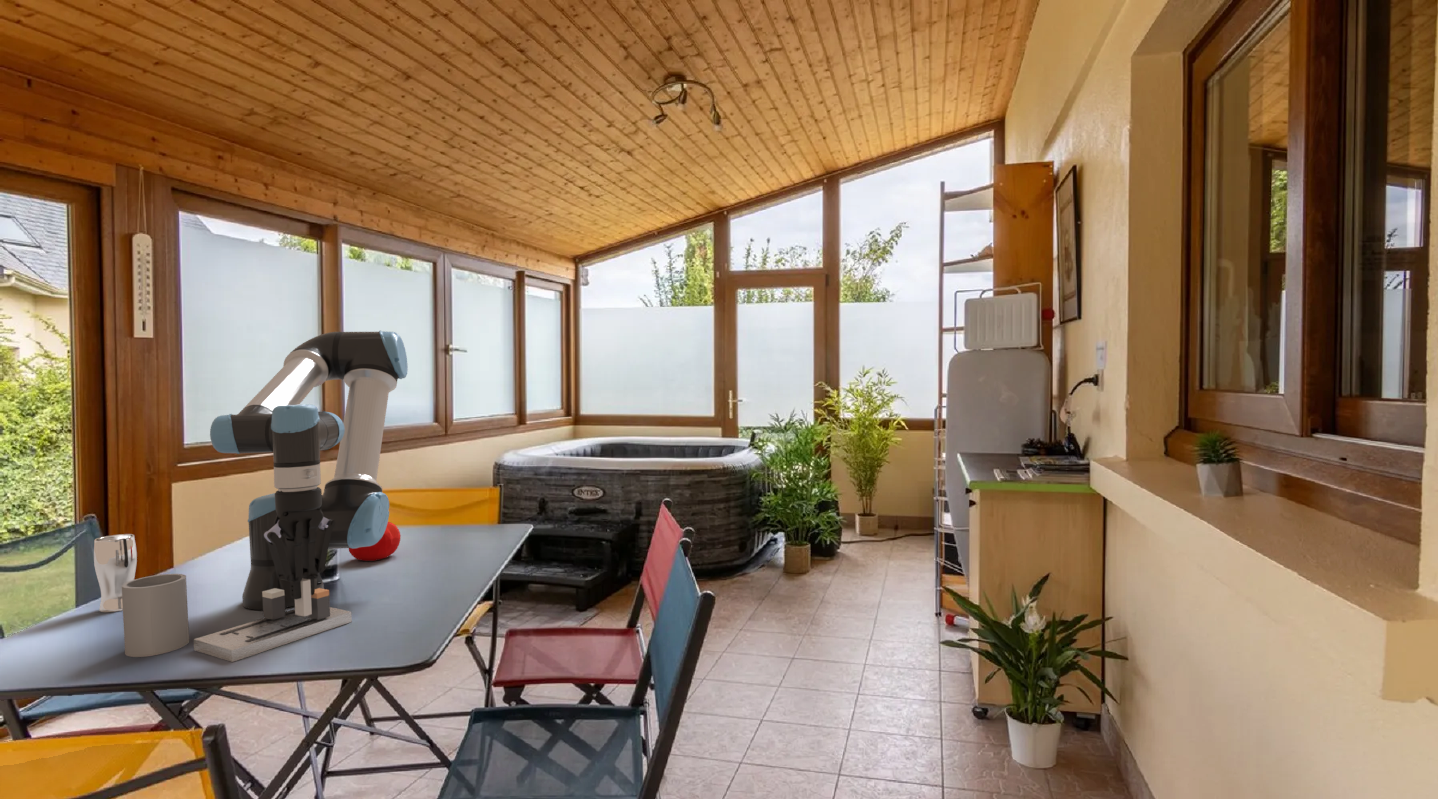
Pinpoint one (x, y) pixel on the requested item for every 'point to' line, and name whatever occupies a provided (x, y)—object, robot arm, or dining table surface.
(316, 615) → the fader near
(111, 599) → the beer glass
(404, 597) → the dining table surface
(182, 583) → the cup
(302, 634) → the console
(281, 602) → the fader far
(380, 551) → the tomato
